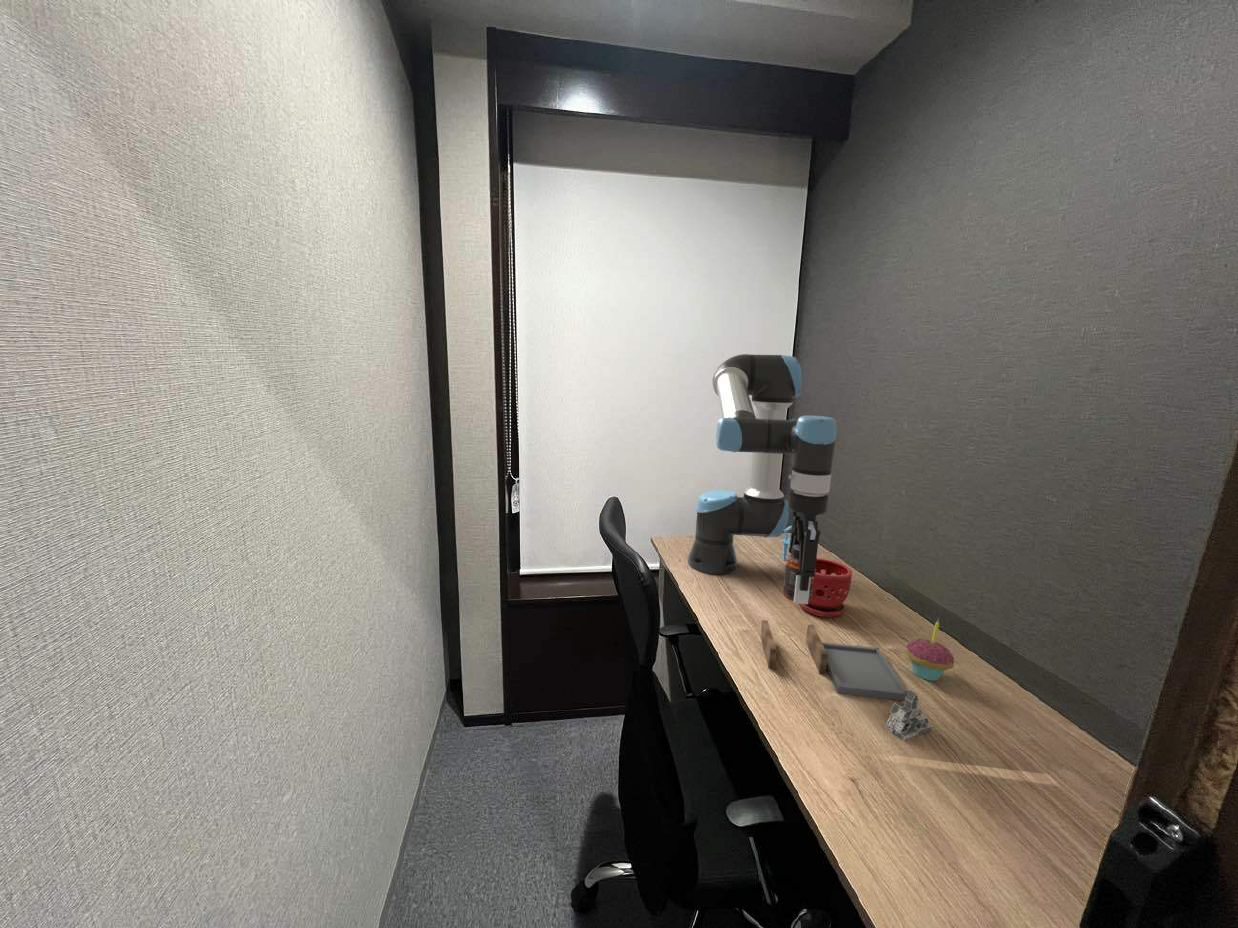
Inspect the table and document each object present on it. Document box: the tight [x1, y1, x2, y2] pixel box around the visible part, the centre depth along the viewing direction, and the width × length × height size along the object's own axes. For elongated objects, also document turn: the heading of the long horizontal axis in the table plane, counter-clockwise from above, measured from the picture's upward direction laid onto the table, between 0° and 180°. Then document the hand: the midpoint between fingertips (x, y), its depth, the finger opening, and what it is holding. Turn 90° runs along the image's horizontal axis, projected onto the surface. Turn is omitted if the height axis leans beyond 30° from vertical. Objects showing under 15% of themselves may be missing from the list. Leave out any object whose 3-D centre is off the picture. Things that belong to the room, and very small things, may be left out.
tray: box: [821, 641, 909, 702], centre depth 104 cm, size 16×13×2 cm
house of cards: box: [884, 689, 933, 742], centre depth 90 cm, size 9×9×8 cm
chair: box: [781, 525, 792, 562], centre depth 162 cm, size 8×8×12 cm
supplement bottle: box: [782, 545, 814, 602], centre depth 106 cm, size 6×6×11 cm
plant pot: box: [798, 558, 853, 618], centre depth 130 cm, size 13×13×12 cm
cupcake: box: [905, 618, 955, 682], centre depth 103 cm, size 9×8×12 cm
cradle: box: [760, 620, 828, 675], centre depth 109 cm, size 12×11×4 cm
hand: (797, 595), depth 107 cm, fingers closed on supplement bottle, 6 cm apart
